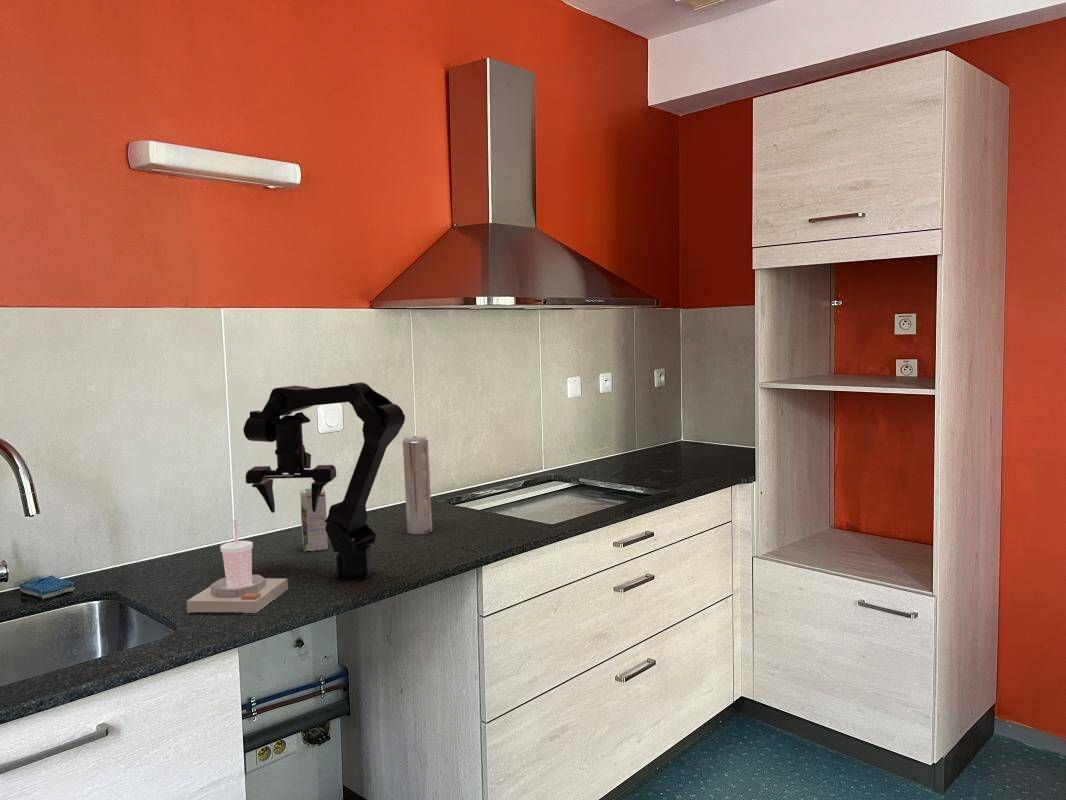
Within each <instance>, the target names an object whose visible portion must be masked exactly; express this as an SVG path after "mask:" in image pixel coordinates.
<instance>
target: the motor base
mask: <svg viewBox="0 0 1066 800" xmlns="http://www.w3.org/2000/svg"><path fill="white" fill-rule="evenodd" d="M288 585H289V584H288V578H270V577H268V578H265V577H263V576H261V575H260V574H252V585H250V586H245V587H241V588H227V583H226V577H223V578H218V580H217V581H215V582H213V583H211V584H210V586H208V587H207V588H205V589H204V590H202V591H200V592H199V593H197V594H196V595H194V596H192V597H191V598H189V599H188V600H186V609H187V612H186V613H187V614H188V613H191V612H193V613H194V612H243V613H257V612H258V611H260V610H261V609H263V608H264V607H265V606H267V605H268V604H269V603H270V602H272V601H273V600H275V599H276V598H278V597H279V596H280V595H281V596H283V595H284V594H285V593H286V592H285V591H287V590H288V591H289V586H288ZM288 591H287V592H288ZM284 592H285V593H284ZM283 593H284V594H283ZM282 594H283V595H282ZM281 596H280V597H281ZM280 597H279V598H280ZM279 598H278V599H279ZM276 600H277V599H276ZM276 600H275V601H276ZM272 603H273V602H272ZM268 606H269V605H268ZM268 606H267V607H268ZM263 610H264V609H263Z"/></svg>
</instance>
